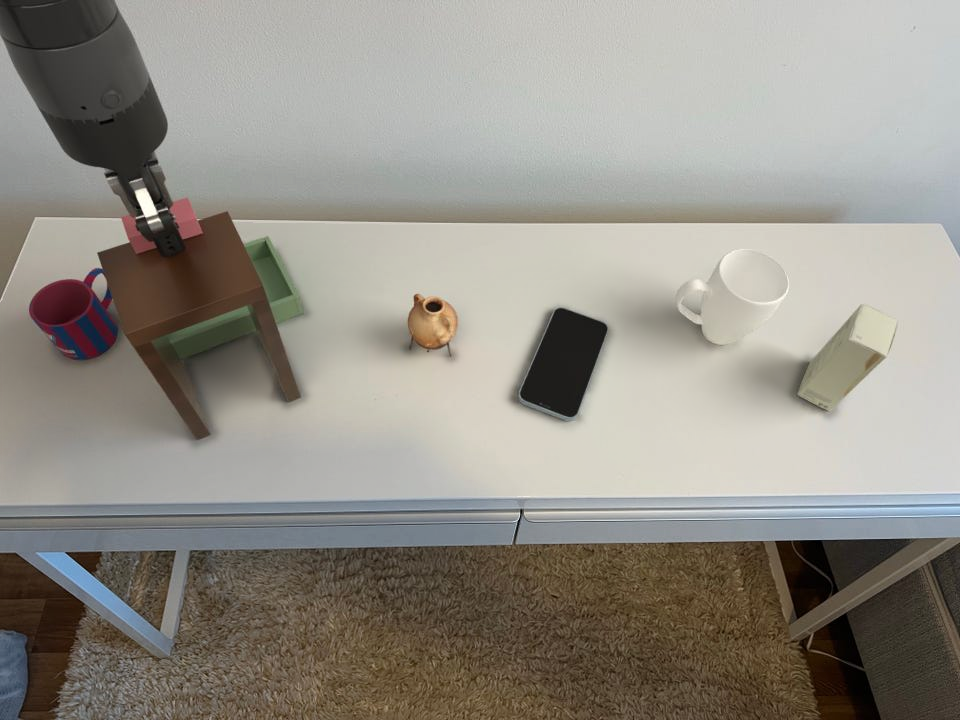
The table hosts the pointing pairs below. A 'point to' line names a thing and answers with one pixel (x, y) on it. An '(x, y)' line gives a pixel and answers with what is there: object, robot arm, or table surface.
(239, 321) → the tray
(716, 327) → the mug
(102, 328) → the cup
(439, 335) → the pot
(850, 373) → the cosmetic box
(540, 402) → the smartphone
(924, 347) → the table surface
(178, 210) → the eraser
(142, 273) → the walnut stand
